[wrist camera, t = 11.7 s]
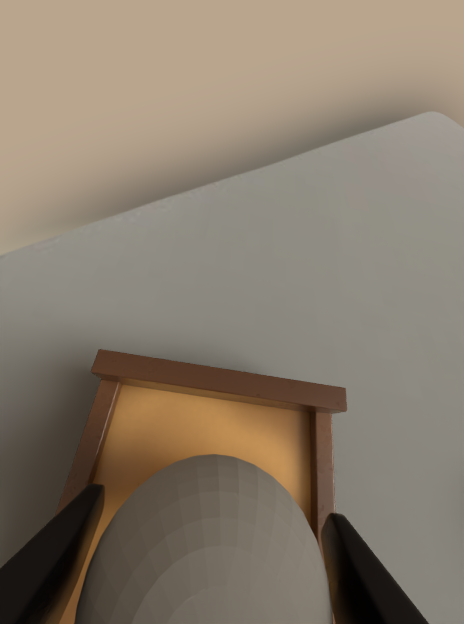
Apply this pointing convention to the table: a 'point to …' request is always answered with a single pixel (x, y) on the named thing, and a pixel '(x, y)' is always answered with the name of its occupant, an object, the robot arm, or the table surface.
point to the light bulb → (207, 552)
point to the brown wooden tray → (202, 433)
